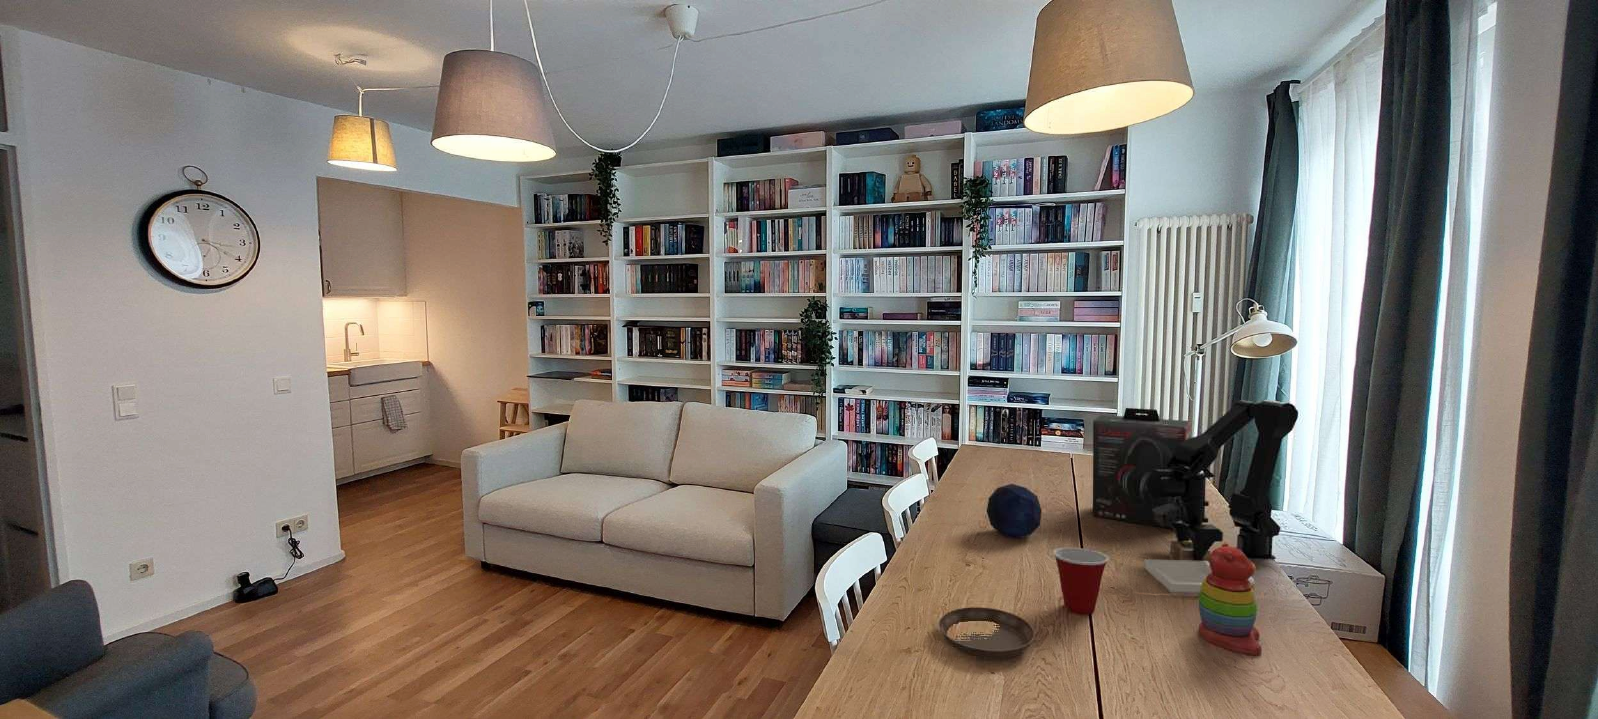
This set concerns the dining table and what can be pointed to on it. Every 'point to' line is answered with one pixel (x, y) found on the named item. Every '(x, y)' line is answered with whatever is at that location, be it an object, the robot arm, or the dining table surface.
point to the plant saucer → (998, 646)
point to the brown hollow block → (1183, 552)
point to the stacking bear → (1229, 602)
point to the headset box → (1132, 462)
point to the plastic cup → (1080, 577)
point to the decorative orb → (1014, 511)
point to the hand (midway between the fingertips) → (1189, 556)
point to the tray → (1179, 575)
